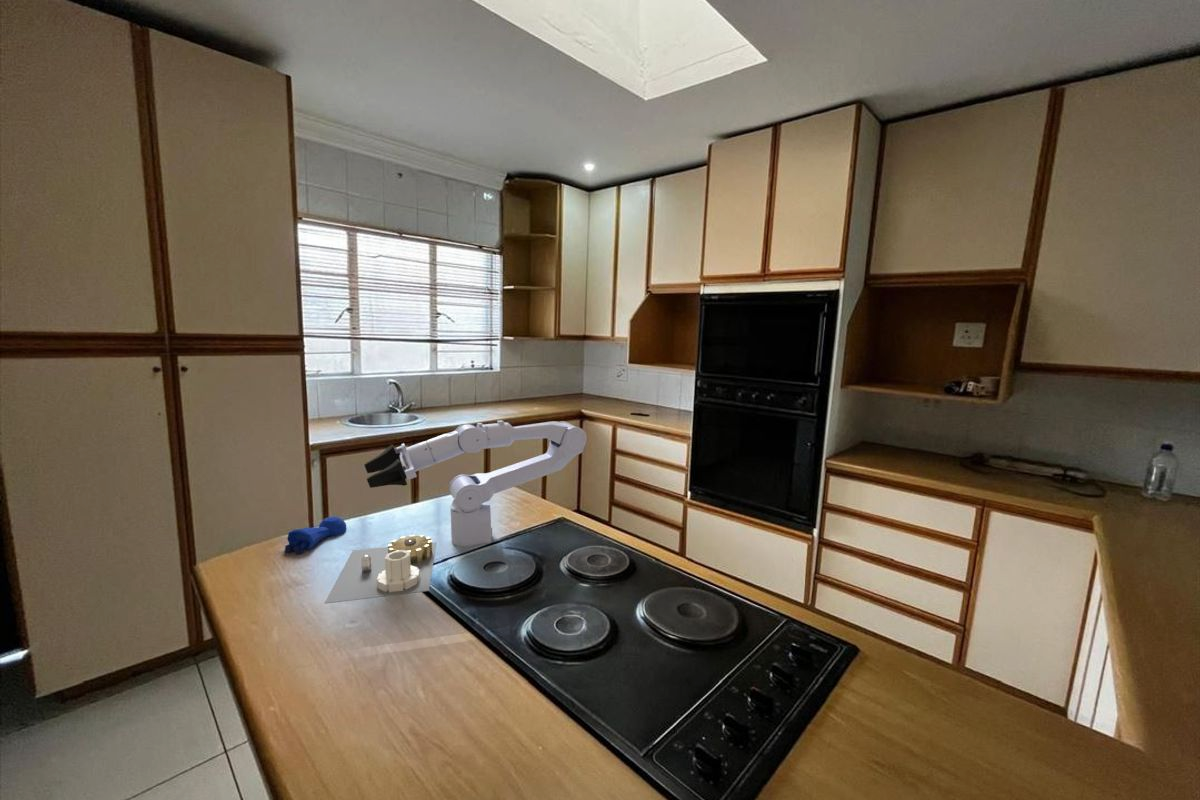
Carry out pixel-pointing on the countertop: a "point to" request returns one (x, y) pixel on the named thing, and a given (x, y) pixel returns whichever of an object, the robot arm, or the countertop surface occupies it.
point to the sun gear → (413, 547)
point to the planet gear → (398, 572)
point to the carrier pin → (366, 564)
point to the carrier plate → (373, 577)
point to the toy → (314, 534)
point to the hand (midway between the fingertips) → (367, 475)
